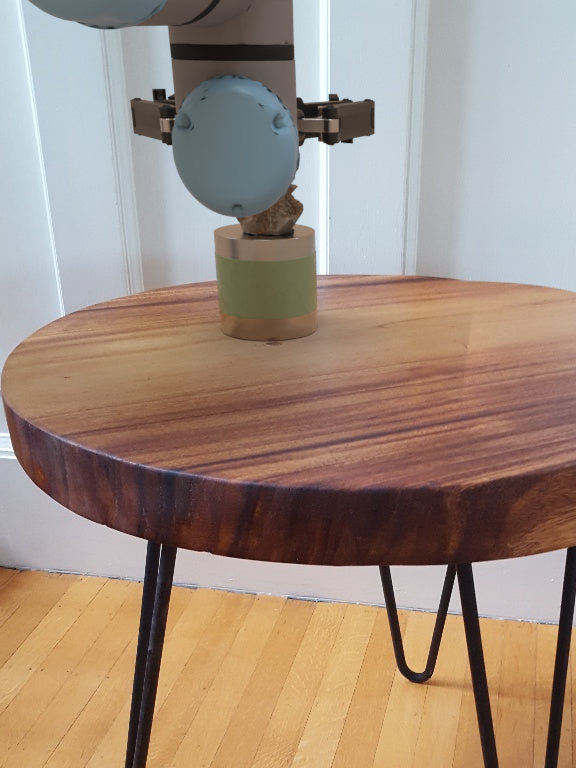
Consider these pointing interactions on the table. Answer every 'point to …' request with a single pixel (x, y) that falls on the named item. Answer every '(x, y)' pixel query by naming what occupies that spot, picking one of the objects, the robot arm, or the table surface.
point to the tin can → (266, 283)
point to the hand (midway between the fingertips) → (257, 110)
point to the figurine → (275, 217)
